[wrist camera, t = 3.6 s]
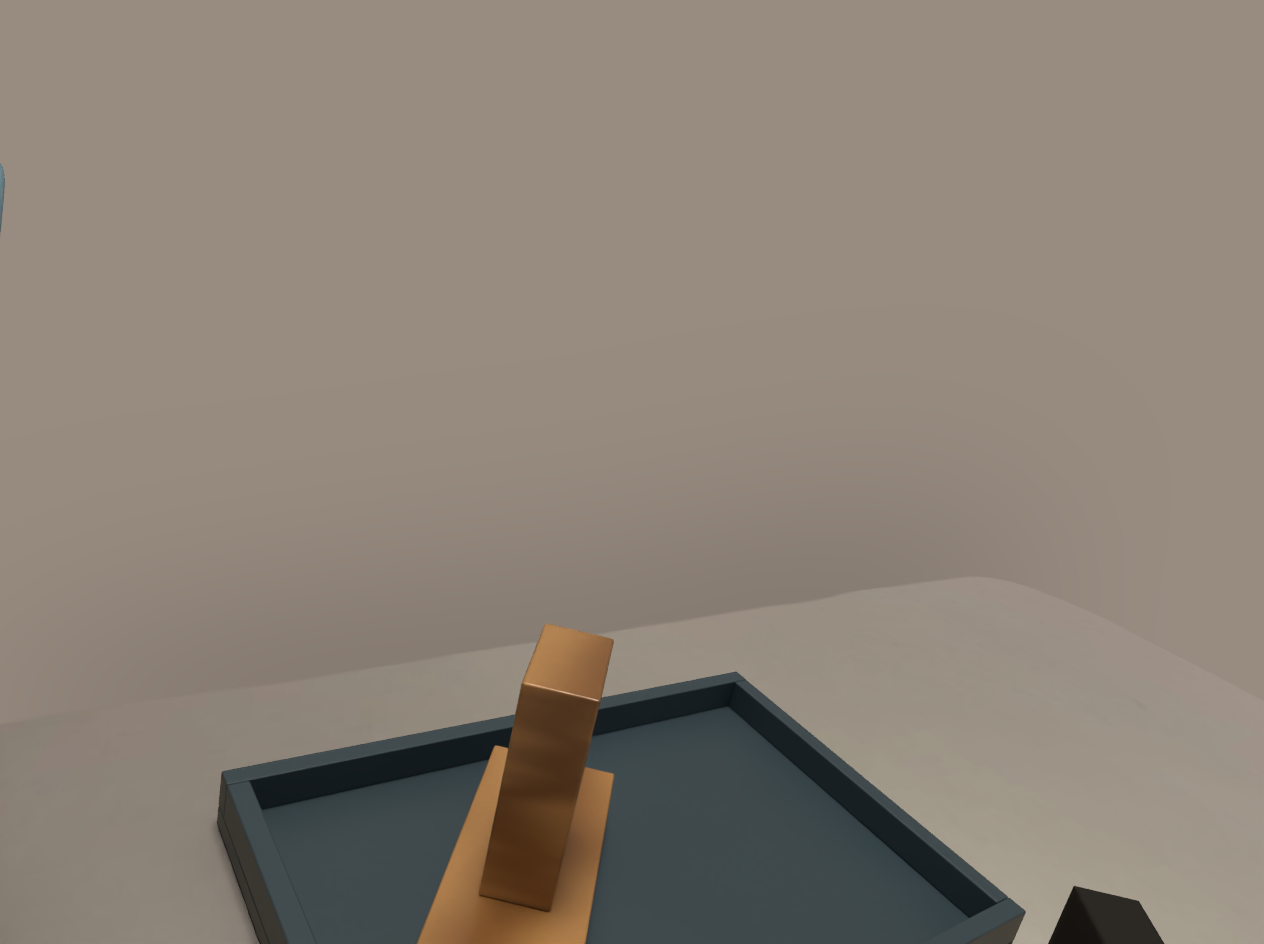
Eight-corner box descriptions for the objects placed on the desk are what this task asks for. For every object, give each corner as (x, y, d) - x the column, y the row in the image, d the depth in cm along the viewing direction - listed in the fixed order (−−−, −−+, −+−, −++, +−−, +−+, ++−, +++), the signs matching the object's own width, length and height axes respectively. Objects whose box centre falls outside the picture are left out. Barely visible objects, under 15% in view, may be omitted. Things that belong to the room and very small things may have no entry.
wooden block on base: (387, 1048, 27) (440, 750, 24) (485, 791, 38) (530, 566, 35) (555, 1089, 27) (631, 796, 24) (603, 819, 38) (659, 597, 35)
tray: (216, 822, 35) (221, 770, 34) (725, 708, 50) (736, 671, 49) (391, 1313, 22) (404, 1247, 21) (1007, 956, 37) (1026, 911, 36)
